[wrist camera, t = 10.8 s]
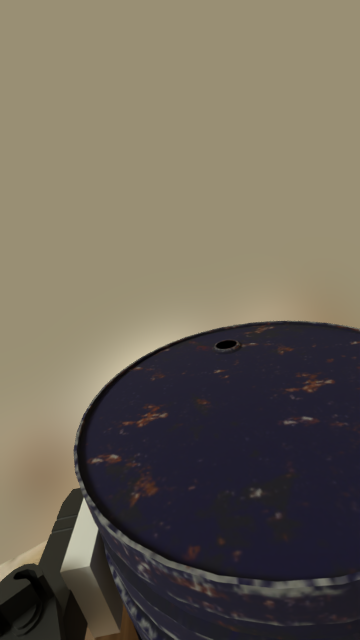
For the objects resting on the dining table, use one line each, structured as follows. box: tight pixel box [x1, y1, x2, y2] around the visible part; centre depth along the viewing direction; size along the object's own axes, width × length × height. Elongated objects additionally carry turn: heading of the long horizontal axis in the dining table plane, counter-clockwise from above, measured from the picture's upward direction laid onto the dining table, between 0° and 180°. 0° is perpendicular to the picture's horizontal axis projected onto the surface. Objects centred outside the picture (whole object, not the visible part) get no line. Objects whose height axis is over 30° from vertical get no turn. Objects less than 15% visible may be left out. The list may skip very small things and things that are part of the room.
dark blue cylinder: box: [74, 321, 360, 640], centre depth 10 cm, size 10×10×15 cm
